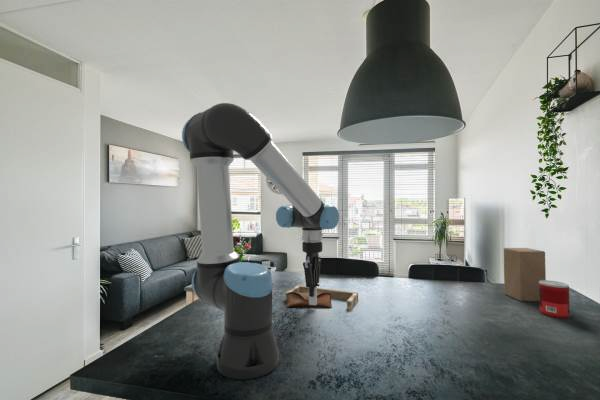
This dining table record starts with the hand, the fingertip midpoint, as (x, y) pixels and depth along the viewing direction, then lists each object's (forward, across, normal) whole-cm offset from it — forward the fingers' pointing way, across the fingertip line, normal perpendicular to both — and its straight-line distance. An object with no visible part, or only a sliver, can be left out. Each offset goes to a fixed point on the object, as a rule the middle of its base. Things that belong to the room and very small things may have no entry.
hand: (312, 304), depth 107 cm
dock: (+2, +10, 0) cm, 10 cm away
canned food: (+2, +29, -80) cm, 85 cm away
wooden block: (+2, +47, -76) cm, 89 cm away
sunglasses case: (+2, +4, +3) cm, 5 cm away
